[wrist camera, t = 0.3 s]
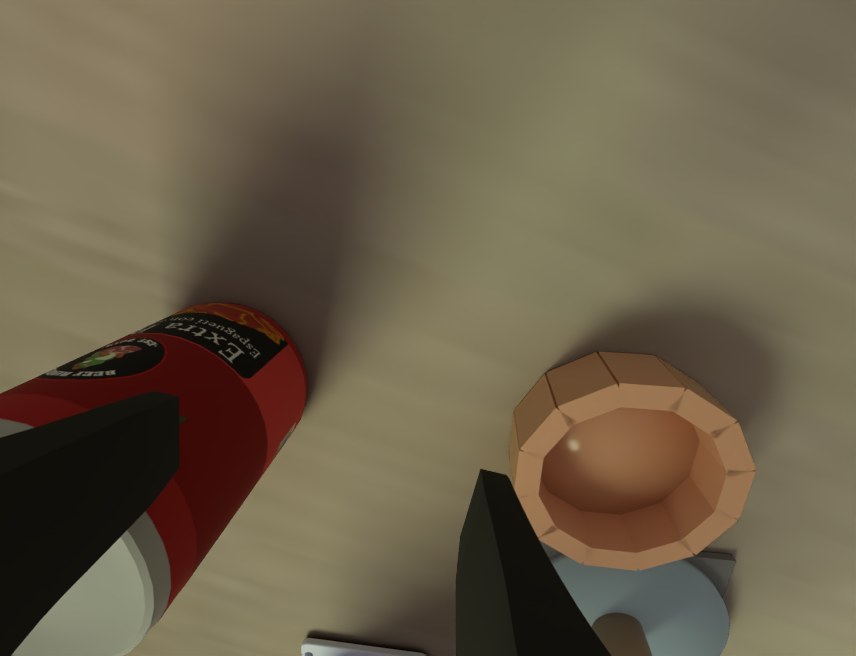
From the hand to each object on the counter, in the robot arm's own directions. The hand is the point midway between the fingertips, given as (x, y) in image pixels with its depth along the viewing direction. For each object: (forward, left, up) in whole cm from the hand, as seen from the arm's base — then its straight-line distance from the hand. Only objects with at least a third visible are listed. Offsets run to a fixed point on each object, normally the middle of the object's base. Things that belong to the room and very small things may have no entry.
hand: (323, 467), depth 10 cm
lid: (-16, -12, -10) cm, 22 cm away
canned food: (-3, +8, -10) cm, 13 cm away
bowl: (-5, -10, -10) cm, 15 cm away
